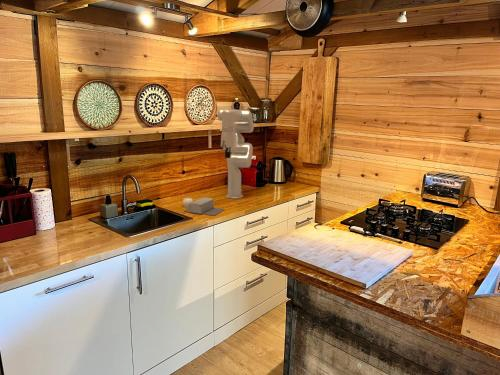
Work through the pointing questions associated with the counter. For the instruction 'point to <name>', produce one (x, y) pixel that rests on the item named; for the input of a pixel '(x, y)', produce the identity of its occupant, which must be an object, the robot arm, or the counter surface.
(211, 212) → the mat
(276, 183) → the counter surface
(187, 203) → the white round piece
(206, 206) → the skincare box
